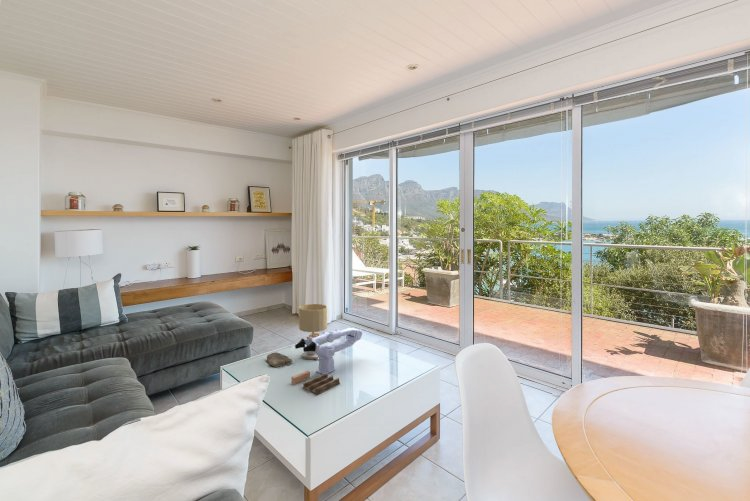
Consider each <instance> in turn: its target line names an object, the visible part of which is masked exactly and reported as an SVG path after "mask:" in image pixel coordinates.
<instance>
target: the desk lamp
mask: <svg viewBox="0 0 750 501" xmlns="http://www.w3.org/2000/svg"><path fill="white" fill-rule="evenodd" d="M298 328H299V330H300V331H301V332H304V333H305V332H306V333H311V334H309V335H308V336H306V340H307V339H309V338H310V337H312V338H314V337H317V336H320V335H321V334H320V333H321V332H324V331H325V330H327V329H328V306H327V305H326V304H322V303H321V304H319V303H308V304H303V305H300V306H299V307H298ZM319 332H320V333H319ZM319 346H321V345H319ZM316 350H317V349H315V352H314V351H307V352H303V351H302V353H301V354H300V355H299V357H301V358H302V359H303V358H305V360H314V359H316V360H315V361H317V360H318V361H319V359H318V358H319V357H318V355H317V354H316Z"/></svg>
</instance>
